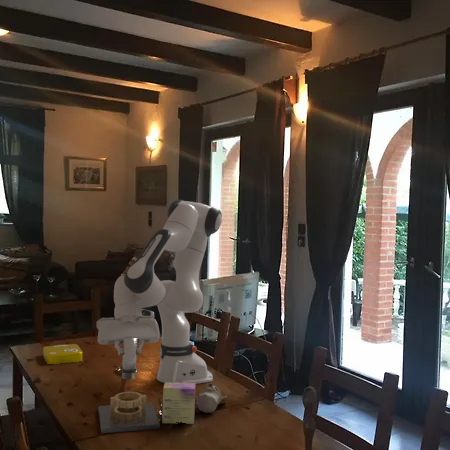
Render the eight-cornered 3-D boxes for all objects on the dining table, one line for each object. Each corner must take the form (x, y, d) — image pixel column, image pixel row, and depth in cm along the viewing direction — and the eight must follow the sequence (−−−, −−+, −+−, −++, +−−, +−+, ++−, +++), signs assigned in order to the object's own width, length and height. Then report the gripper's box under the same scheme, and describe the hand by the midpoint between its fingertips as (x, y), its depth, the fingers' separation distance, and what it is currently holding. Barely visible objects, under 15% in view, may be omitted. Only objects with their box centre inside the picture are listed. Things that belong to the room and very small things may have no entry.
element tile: (76, 352, 246) (76, 342, 246) (83, 362, 233) (83, 351, 233) (42, 355, 240) (42, 345, 239) (47, 365, 226) (47, 354, 226)
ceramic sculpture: (190, 387, 181) (201, 376, 196) (188, 413, 181) (200, 399, 196) (221, 391, 179) (230, 379, 193) (219, 417, 179) (228, 403, 193)
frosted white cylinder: (135, 374, 177) (136, 335, 176) (136, 379, 172) (138, 339, 172) (121, 375, 175) (122, 336, 175) (122, 380, 171) (123, 340, 170)
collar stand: (151, 406, 186) (152, 385, 185) (159, 428, 168) (160, 405, 168) (98, 410, 181) (99, 388, 180) (101, 433, 164) (101, 409, 163)
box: (194, 417, 178) (195, 382, 178) (194, 424, 172) (195, 388, 172) (163, 416, 178) (164, 381, 177) (161, 423, 172) (162, 387, 172)
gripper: (97, 313, 177) (97, 350, 168) (158, 311, 182) (162, 348, 173) (96, 323, 181) (96, 360, 172) (156, 321, 187) (159, 357, 178)
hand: (129, 354), depth 173 cm, fingers closed on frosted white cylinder, 4 cm apart
